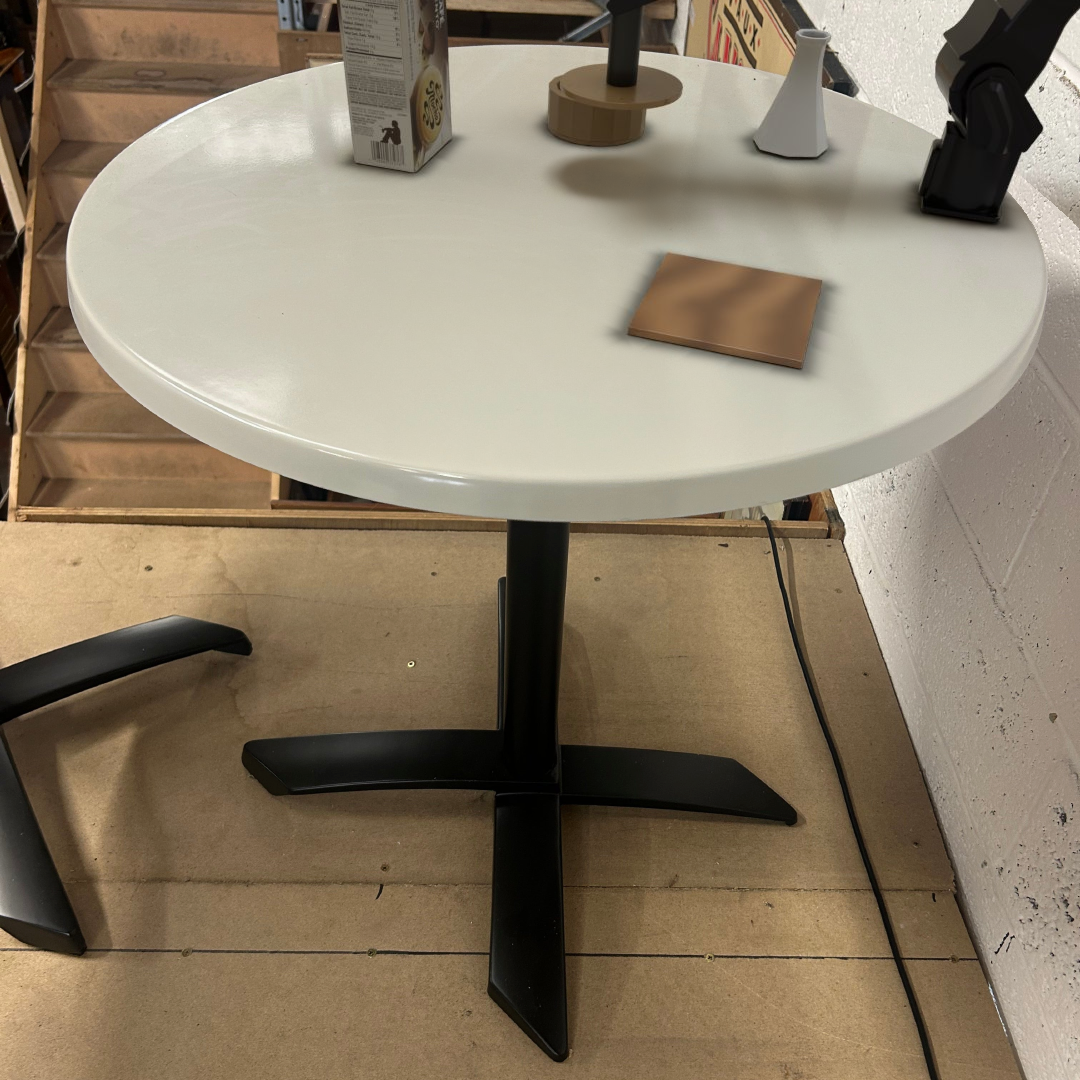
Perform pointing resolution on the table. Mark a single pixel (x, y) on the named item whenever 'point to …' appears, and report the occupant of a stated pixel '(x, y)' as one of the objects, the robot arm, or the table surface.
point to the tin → (591, 120)
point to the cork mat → (729, 309)
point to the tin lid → (622, 73)
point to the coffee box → (396, 80)
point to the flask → (798, 103)
